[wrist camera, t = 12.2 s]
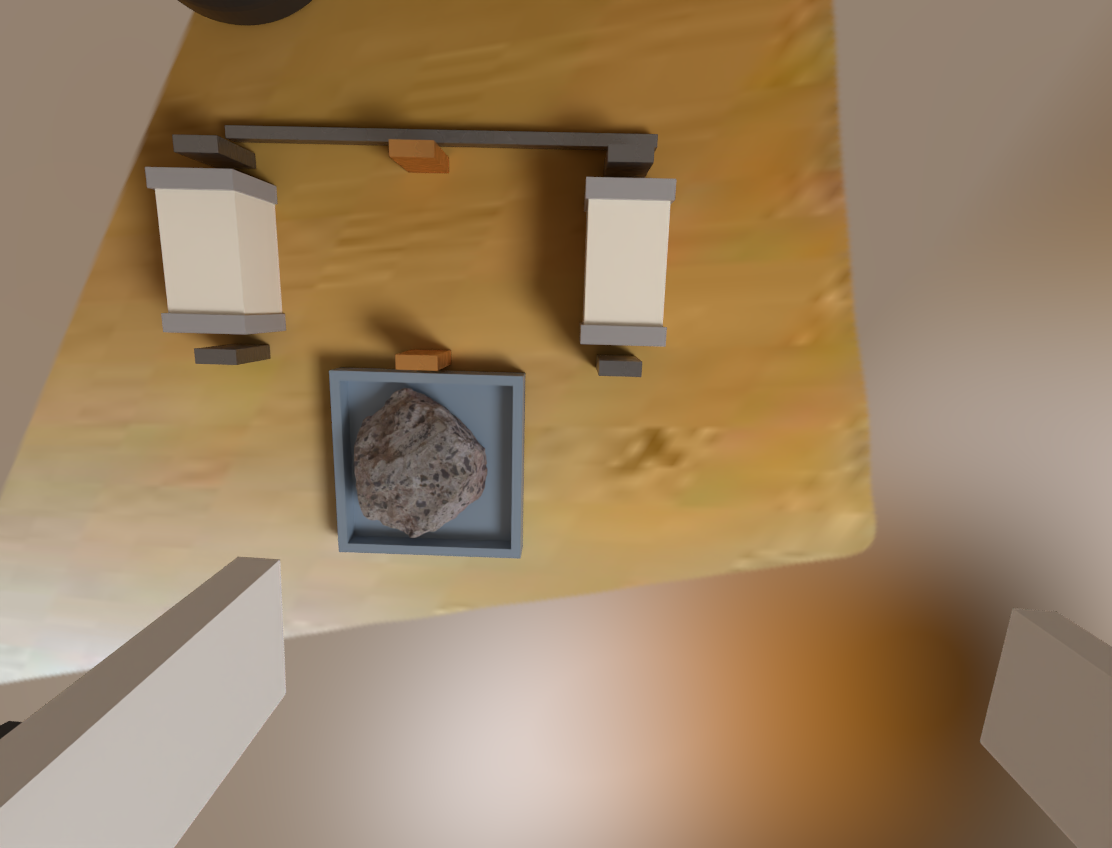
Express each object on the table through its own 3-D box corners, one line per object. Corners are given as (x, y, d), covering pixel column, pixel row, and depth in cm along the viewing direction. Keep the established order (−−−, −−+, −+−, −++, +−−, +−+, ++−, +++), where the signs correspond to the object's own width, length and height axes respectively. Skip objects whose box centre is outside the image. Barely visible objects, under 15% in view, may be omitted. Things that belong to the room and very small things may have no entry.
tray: (340, 367, 43) (329, 370, 41) (525, 372, 43) (522, 376, 41) (348, 541, 46) (338, 551, 44) (522, 547, 46) (520, 558, 44)
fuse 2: (584, 193, 40) (586, 176, 35) (662, 195, 40) (676, 178, 35) (579, 338, 42) (580, 344, 37) (653, 340, 42) (665, 346, 37)
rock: (378, 526, 45) (360, 548, 41) (361, 388, 43) (340, 397, 39) (492, 520, 45) (484, 542, 41) (480, 382, 42) (471, 390, 38)
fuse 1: (200, 184, 41) (144, 166, 35) (276, 186, 41) (232, 168, 35) (214, 328, 43) (163, 331, 37) (286, 330, 43) (245, 334, 37)
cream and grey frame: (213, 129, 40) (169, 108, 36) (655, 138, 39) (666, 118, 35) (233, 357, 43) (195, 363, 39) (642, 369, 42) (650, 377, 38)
